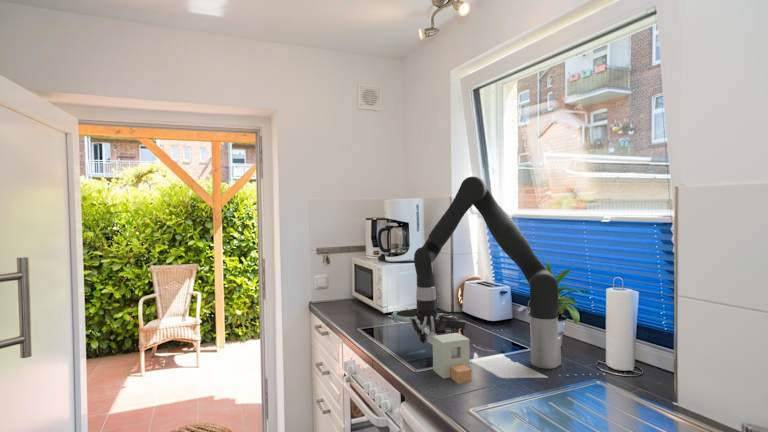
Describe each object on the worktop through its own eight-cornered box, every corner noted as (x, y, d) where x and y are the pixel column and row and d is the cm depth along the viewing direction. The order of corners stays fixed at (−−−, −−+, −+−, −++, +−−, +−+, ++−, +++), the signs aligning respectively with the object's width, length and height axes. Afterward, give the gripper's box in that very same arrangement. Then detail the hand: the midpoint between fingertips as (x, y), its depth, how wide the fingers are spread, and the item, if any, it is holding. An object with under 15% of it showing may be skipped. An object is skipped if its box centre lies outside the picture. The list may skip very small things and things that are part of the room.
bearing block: (458, 366, 154) (457, 332, 154) (469, 374, 146) (469, 339, 146) (433, 370, 151) (432, 336, 151) (443, 378, 143) (442, 342, 143)
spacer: (464, 376, 145) (463, 364, 145) (471, 381, 140) (471, 369, 140) (450, 378, 144) (450, 366, 143) (458, 384, 139) (457, 371, 139)
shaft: (425, 335, 174) (425, 324, 174) (459, 357, 147) (459, 345, 147) (415, 336, 172) (415, 325, 172) (448, 359, 146) (448, 346, 146)
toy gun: (456, 330, 190) (467, 318, 203) (414, 322, 201) (427, 312, 214) (456, 340, 191) (467, 328, 204) (414, 332, 201) (427, 321, 214)
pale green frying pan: (409, 303, 240) (434, 313, 218) (410, 310, 240) (434, 320, 218) (381, 307, 233) (403, 317, 210) (381, 314, 233) (403, 325, 210)
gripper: (413, 301, 161) (414, 347, 161) (446, 298, 166) (447, 342, 166) (405, 297, 168) (406, 341, 169) (438, 294, 173) (439, 337, 173)
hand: (427, 341), depth 167 cm, fingers closed on shaft, 3 cm apart
